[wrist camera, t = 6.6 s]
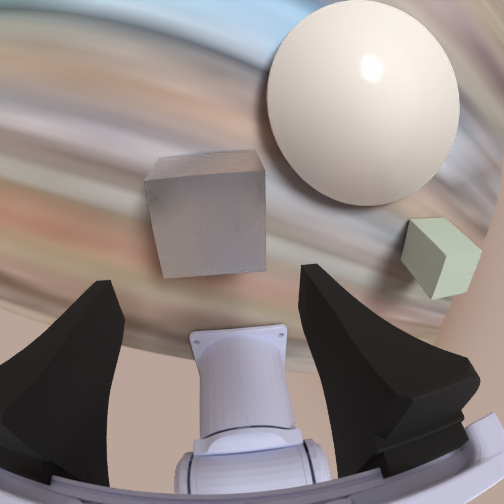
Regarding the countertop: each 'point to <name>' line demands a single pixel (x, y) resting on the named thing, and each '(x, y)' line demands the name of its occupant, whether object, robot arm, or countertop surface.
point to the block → (439, 257)
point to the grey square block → (208, 213)
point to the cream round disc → (362, 102)
